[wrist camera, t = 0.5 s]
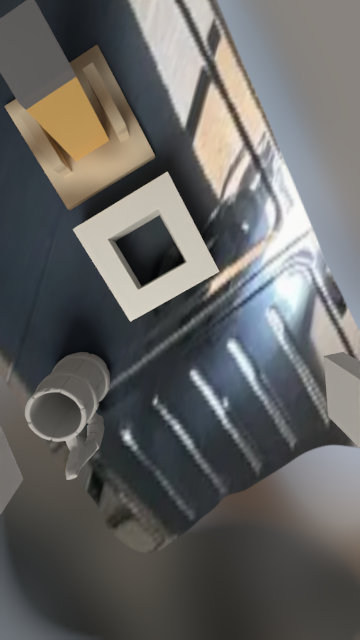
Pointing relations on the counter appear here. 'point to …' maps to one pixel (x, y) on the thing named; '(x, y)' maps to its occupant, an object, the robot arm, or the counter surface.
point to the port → (130, 216)
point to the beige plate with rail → (105, 161)
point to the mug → (71, 406)
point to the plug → (47, 81)
